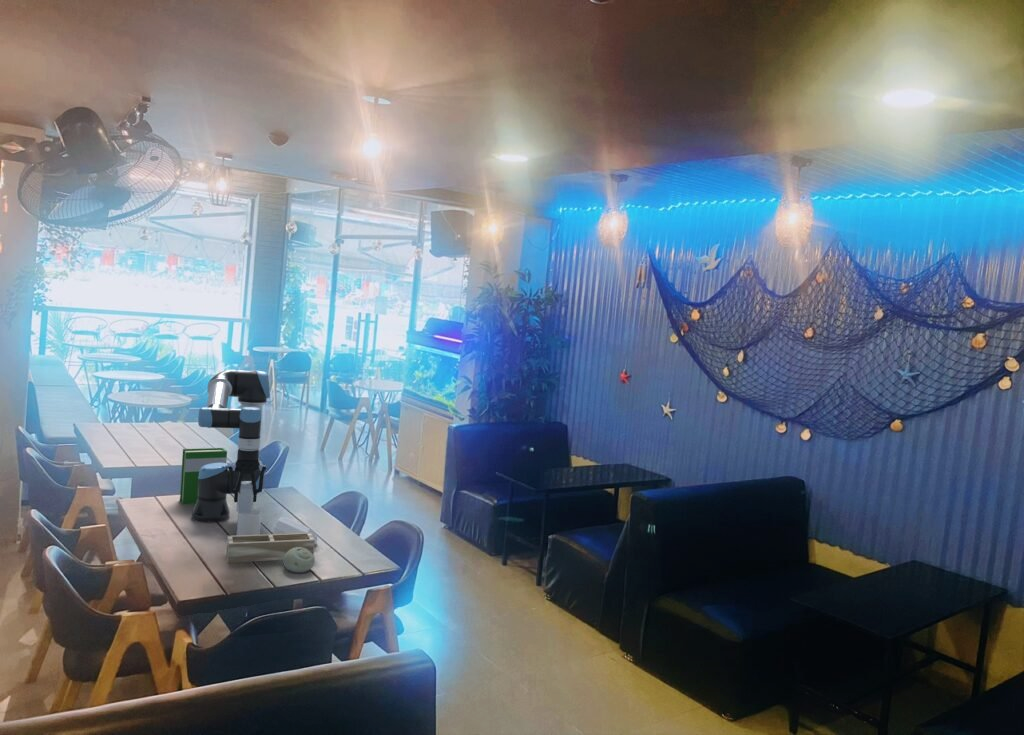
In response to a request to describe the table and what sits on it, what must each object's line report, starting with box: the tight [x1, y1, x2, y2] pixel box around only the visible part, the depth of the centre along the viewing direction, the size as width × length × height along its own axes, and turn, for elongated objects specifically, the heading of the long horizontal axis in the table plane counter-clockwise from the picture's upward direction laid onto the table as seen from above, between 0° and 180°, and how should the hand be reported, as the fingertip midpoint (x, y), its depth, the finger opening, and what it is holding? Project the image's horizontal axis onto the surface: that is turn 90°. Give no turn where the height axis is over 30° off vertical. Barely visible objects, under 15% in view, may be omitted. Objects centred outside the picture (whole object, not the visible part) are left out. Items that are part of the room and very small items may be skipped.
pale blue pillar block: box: [239, 481, 252, 513], centre depth 271 cm, size 6×4×11 cm, turn 23°
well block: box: [226, 532, 315, 564], centre depth 275 cm, size 10×30×7 cm, turn 114°
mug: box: [236, 508, 262, 535], centre depth 292 cm, size 12×9×11 cm
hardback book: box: [179, 447, 228, 505], centre depth 335 cm, size 18×7×24 cm, turn 124°
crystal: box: [272, 515, 318, 545], centre depth 297 cm, size 7×7×24 cm
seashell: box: [282, 547, 316, 574], centre depth 266 cm, size 13×8×10 cm
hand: (244, 510), depth 272 cm, fingers closed on pale blue pillar block, 4 cm apart
